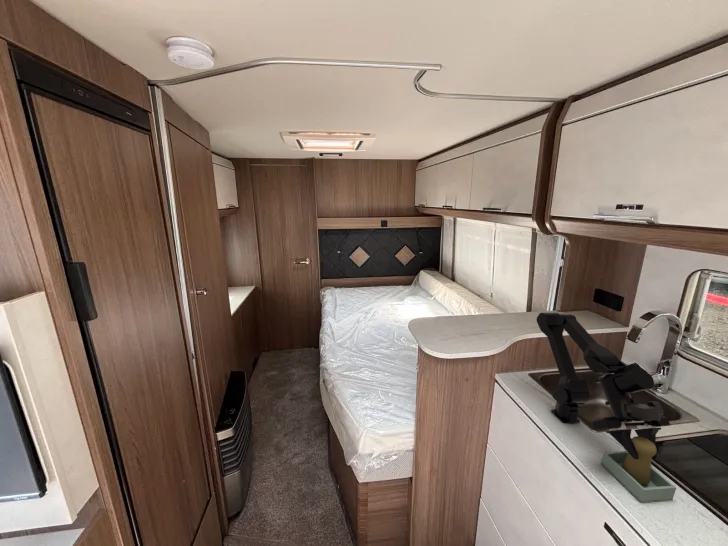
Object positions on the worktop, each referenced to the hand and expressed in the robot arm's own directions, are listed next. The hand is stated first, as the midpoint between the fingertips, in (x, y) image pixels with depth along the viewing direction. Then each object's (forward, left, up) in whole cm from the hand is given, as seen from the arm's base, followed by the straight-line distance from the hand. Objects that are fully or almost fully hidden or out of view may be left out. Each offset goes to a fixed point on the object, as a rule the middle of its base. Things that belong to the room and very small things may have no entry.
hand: (645, 458), depth 82 cm
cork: (-1, 0, -7) cm, 7 cm away
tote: (-1, 0, -8) cm, 9 cm away
